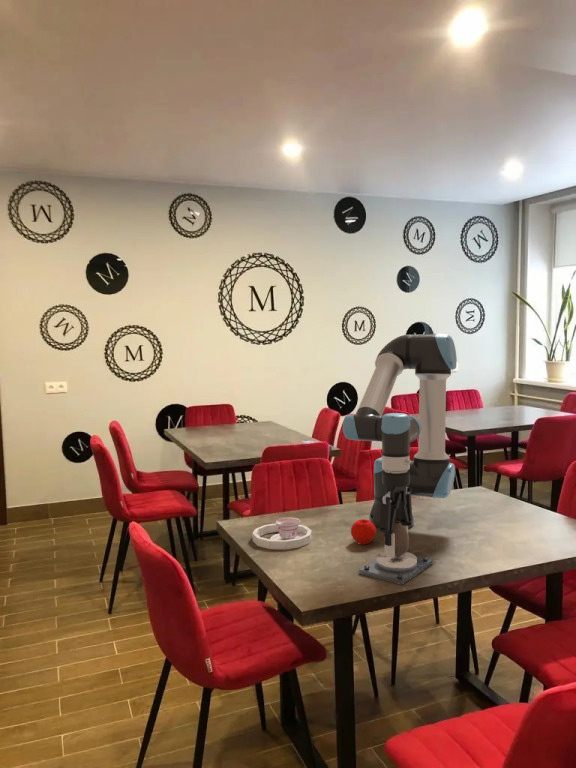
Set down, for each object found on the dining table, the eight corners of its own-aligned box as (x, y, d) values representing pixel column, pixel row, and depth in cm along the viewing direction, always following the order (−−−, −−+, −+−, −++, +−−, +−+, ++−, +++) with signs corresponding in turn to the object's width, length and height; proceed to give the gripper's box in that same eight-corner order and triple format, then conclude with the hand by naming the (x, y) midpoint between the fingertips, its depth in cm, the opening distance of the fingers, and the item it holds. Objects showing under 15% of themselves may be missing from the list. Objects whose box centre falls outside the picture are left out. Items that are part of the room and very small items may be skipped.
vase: (378, 553, 169) (378, 522, 168) (393, 547, 174) (393, 516, 173) (399, 559, 164) (399, 527, 164) (414, 552, 169) (414, 521, 168)
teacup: (284, 532, 204) (283, 513, 204) (314, 538, 197) (314, 519, 197) (262, 542, 194) (261, 523, 194) (293, 549, 187) (292, 529, 187)
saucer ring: (241, 541, 194) (241, 534, 194) (278, 527, 209) (278, 519, 209) (286, 553, 183) (286, 545, 183) (322, 537, 197) (322, 529, 197)
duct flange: (359, 573, 166) (359, 562, 166) (391, 554, 180) (391, 544, 180) (402, 584, 158) (402, 572, 158) (432, 564, 172) (432, 552, 172)
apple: (380, 546, 188) (379, 522, 187) (355, 548, 186) (354, 524, 186) (372, 538, 196) (372, 515, 195) (348, 540, 194) (347, 517, 194)
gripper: (390, 479, 157) (390, 566, 159) (425, 465, 173) (425, 544, 175) (365, 475, 162) (366, 560, 164) (401, 462, 177) (401, 539, 179)
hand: (396, 552), depth 169 cm, fingers open, 7 cm apart
